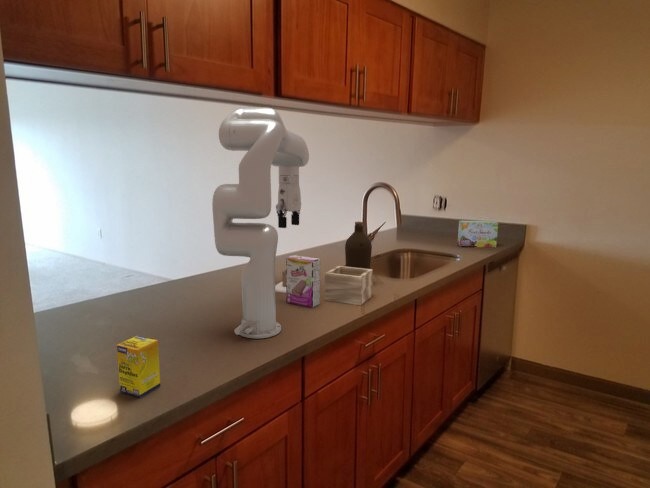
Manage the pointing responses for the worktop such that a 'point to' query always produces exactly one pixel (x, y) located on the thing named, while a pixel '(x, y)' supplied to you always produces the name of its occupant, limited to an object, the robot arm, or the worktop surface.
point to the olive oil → (358, 249)
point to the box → (348, 285)
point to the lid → (281, 284)
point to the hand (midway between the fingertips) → (289, 226)
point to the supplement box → (138, 366)
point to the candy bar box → (303, 281)
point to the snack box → (477, 233)
